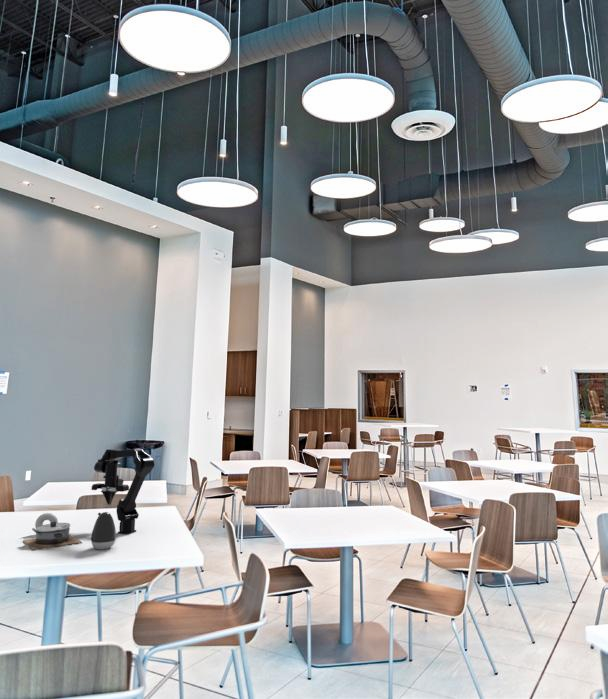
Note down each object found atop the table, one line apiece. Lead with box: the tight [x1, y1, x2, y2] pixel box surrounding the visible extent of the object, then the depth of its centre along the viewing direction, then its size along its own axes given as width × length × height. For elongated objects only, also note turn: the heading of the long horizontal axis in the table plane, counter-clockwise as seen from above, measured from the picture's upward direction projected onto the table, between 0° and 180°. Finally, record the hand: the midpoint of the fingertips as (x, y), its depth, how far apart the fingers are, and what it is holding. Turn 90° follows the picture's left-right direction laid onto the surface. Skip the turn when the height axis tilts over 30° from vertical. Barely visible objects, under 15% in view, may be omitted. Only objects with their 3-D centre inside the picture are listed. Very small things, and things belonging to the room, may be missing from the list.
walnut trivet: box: [22, 533, 83, 551], centre depth 229 cm, size 20×20×1 cm
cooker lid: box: [31, 521, 71, 534], centre depth 229 cm, size 15×14×3 cm
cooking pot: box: [35, 527, 71, 545], centre depth 229 cm, size 14×22×5 cm, turn 40°
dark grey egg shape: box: [90, 511, 117, 551], centre depth 221 cm, size 10×10×15 cm
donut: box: [34, 512, 59, 529], centre depth 246 cm, size 10×4×10 cm, turn 110°
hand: (109, 504), depth 260 cm, fingers closed
